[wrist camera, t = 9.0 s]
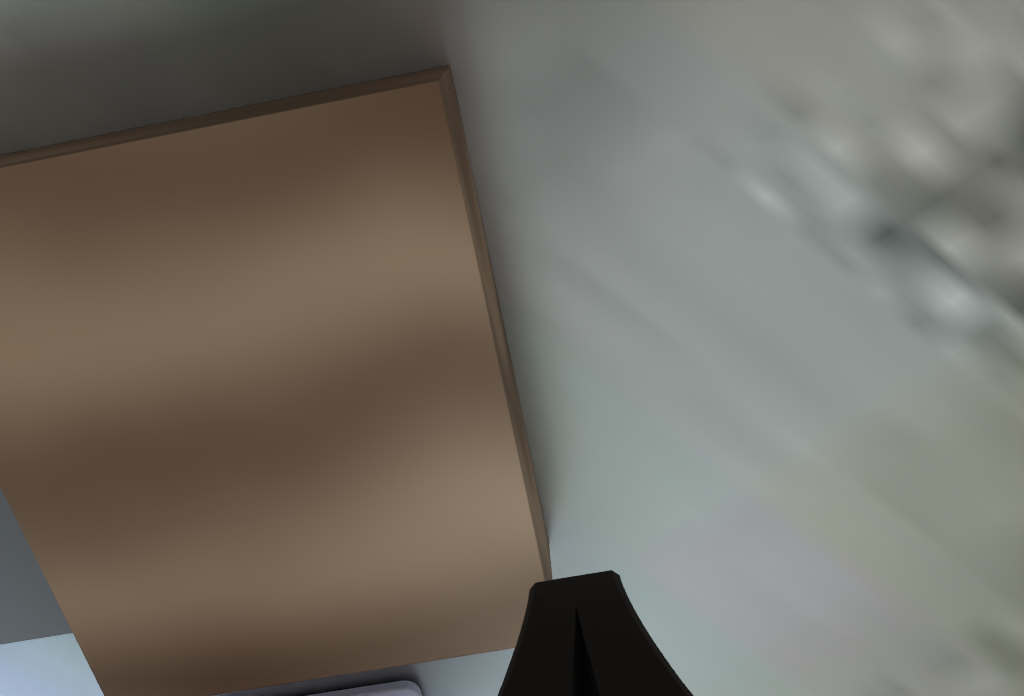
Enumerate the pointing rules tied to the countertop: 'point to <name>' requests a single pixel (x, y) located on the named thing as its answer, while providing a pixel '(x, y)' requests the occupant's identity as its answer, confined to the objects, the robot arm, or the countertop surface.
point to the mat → (24, 587)
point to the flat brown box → (265, 393)
